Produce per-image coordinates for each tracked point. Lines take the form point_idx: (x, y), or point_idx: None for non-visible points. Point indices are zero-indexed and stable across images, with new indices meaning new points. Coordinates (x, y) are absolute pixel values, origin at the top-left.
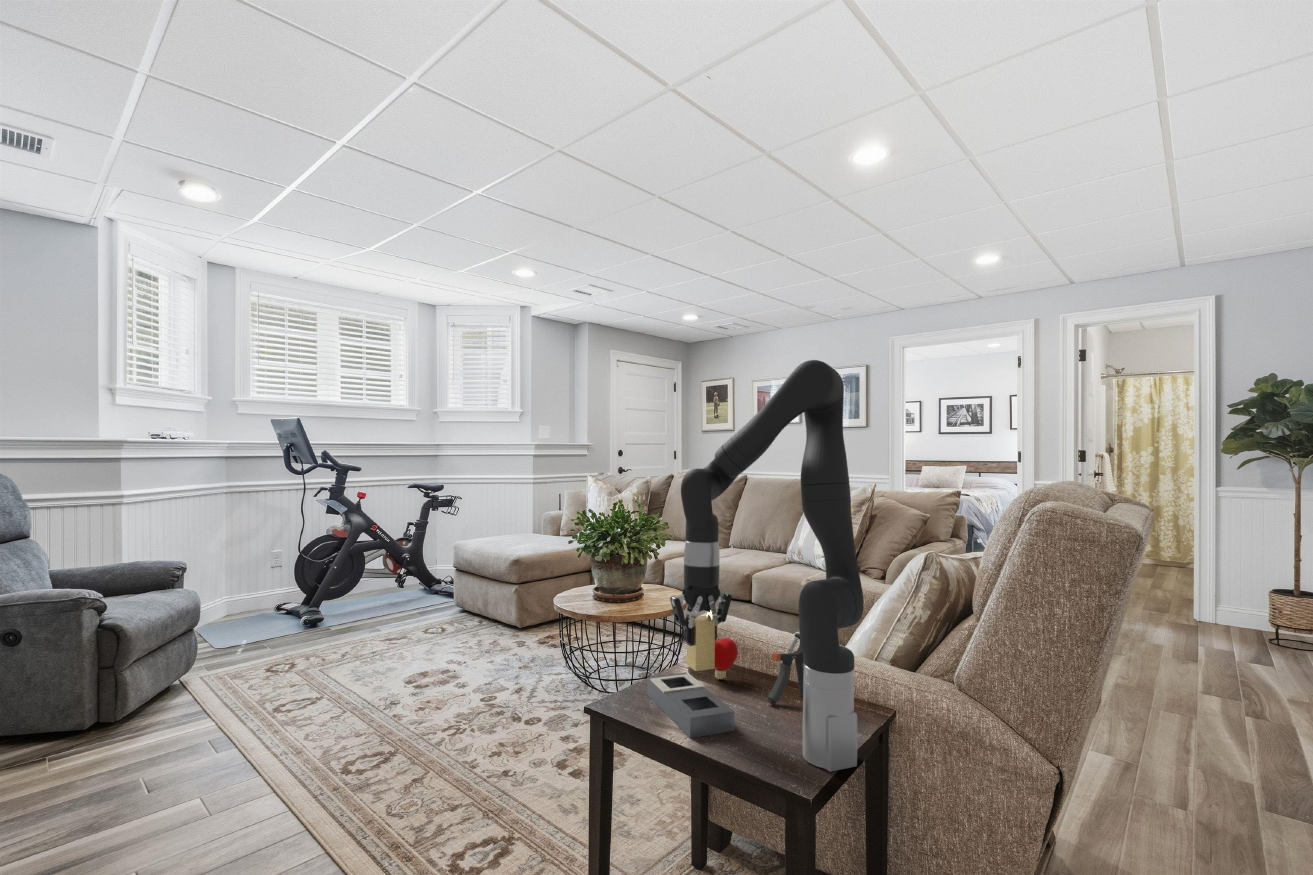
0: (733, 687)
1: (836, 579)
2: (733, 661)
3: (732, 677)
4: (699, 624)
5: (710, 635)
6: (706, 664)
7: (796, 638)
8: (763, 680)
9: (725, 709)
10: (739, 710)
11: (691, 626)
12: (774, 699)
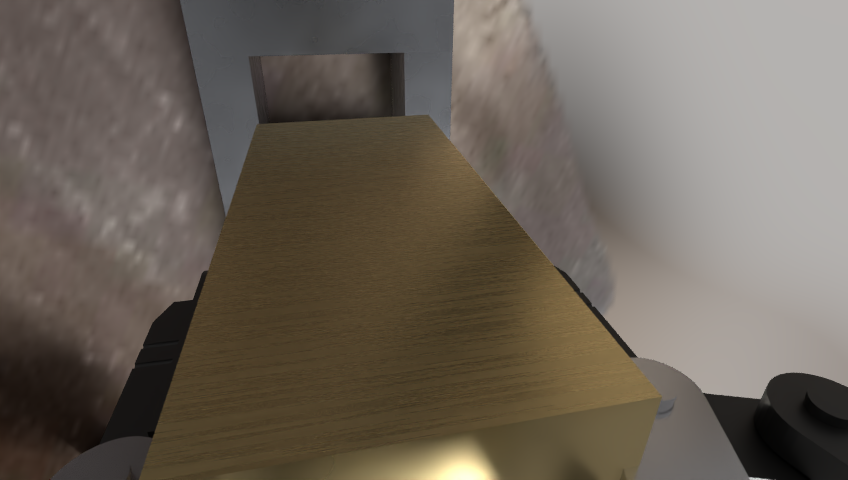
0: (64, 388)
1: None
2: None
3: (43, 467)
4: (556, 363)
5: (289, 262)
6: (335, 130)
7: None
8: None
9: (222, 10)
10: (99, 177)
11: (641, 368)
12: None
